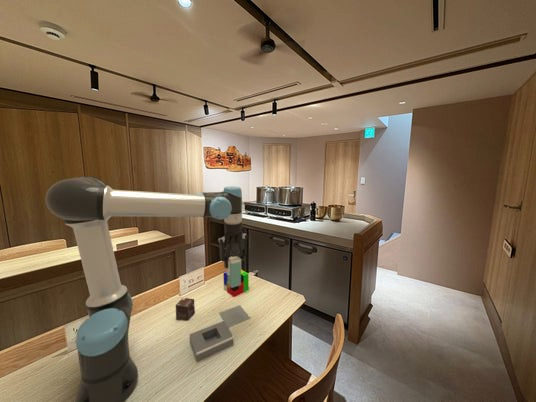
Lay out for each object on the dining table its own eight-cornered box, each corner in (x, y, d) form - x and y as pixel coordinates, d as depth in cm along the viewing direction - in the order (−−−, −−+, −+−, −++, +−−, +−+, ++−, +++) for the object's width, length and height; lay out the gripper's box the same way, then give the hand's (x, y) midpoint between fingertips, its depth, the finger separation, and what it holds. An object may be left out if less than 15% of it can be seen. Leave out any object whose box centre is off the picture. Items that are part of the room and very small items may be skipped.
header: (196, 363, 74) (196, 353, 74) (189, 343, 83) (189, 334, 82) (233, 346, 82) (233, 337, 81) (223, 329, 90) (223, 320, 90)
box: (187, 322, 94) (187, 307, 93) (175, 320, 96) (175, 305, 95) (195, 313, 100) (194, 298, 99) (183, 311, 102) (183, 297, 100)
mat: (227, 328, 91) (227, 327, 91) (218, 314, 100) (218, 312, 100) (250, 319, 97) (250, 318, 97) (239, 306, 106) (239, 305, 106)
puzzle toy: (223, 289, 121) (223, 273, 119) (238, 283, 127) (238, 267, 126) (233, 297, 113) (233, 279, 112) (248, 290, 120) (248, 273, 119)
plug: (231, 287, 93) (231, 261, 91) (227, 283, 96) (227, 258, 95) (240, 285, 95) (240, 259, 93) (236, 280, 99) (236, 256, 97)
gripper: (216, 227, 84) (217, 282, 87) (255, 221, 93) (255, 271, 97) (210, 223, 90) (211, 274, 93) (247, 218, 99) (247, 265, 103)
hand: (233, 272), depth 95 cm, fingers closed on plug, 4 cm apart
